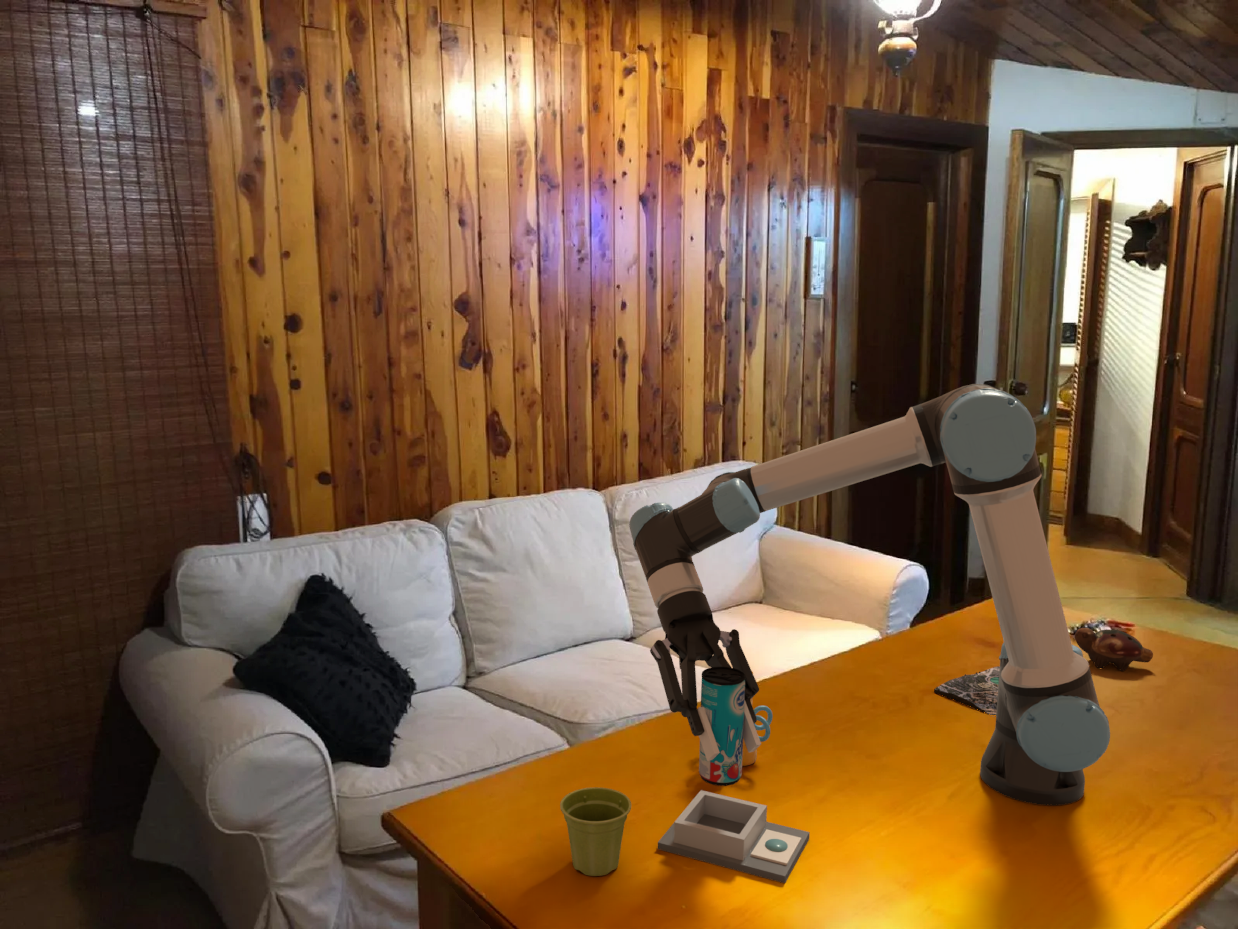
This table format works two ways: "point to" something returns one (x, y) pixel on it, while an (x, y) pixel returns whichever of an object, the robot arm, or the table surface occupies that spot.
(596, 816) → the plant pot
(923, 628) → the table surface
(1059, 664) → the robot arm
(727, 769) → the beverage can
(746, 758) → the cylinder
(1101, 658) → the decorative turtle
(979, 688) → the terrain model
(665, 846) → the can holder
